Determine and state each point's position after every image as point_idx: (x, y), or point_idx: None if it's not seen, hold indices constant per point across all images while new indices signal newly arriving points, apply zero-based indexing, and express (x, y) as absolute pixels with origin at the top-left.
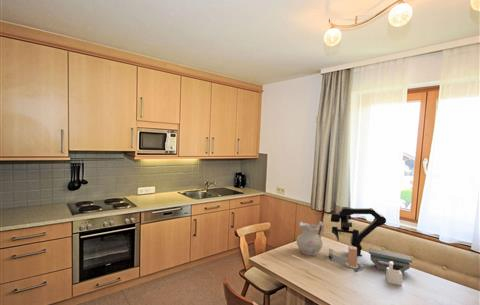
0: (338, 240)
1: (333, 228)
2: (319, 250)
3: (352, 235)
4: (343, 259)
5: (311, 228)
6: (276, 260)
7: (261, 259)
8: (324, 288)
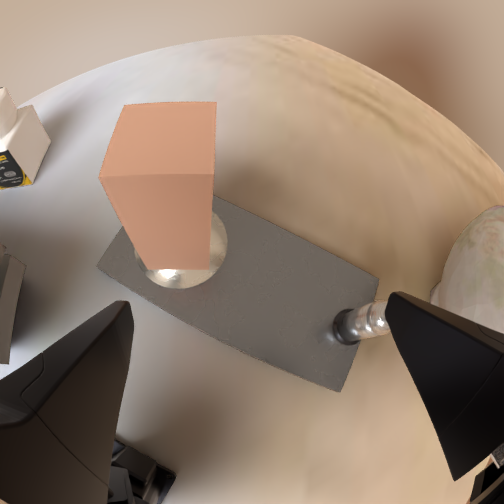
0: (397, 292)
1: None
2: (440, 288)
3: (23, 420)
4: (244, 327)
5: None
6: (483, 181)
7: (499, 177)
8: (307, 57)
